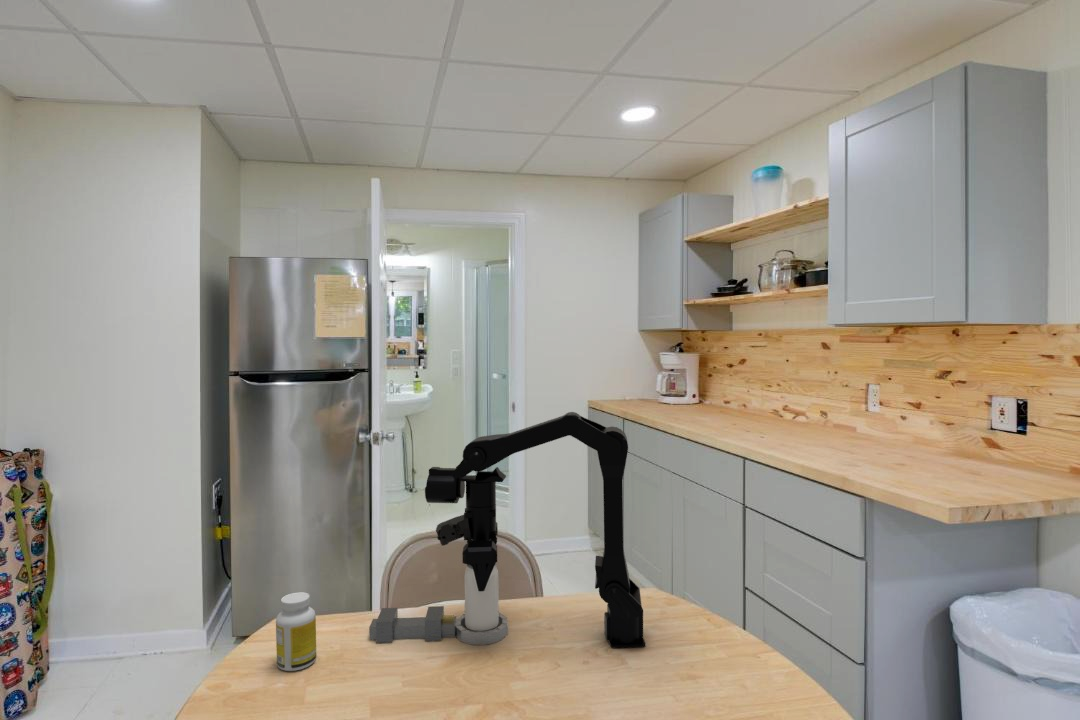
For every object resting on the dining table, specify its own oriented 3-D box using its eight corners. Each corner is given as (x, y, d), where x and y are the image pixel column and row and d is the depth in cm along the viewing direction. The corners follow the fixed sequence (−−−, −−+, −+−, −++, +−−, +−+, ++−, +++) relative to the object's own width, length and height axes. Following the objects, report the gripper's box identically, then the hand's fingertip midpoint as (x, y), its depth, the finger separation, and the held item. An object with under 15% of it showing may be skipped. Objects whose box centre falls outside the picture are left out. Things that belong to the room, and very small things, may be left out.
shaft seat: (507, 619, 123) (507, 599, 123) (508, 643, 113) (507, 622, 113) (376, 623, 121) (376, 604, 121) (365, 649, 111) (365, 627, 111)
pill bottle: (324, 658, 108) (323, 593, 108) (296, 676, 102) (294, 608, 102) (297, 650, 111) (296, 587, 111) (268, 667, 105) (267, 601, 105)
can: (501, 618, 121) (500, 558, 120) (495, 633, 114) (495, 570, 114) (469, 617, 121) (468, 557, 121) (461, 632, 115) (461, 569, 115)
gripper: (443, 492, 126) (444, 567, 126) (433, 518, 107) (434, 606, 108) (497, 491, 127) (497, 565, 127) (496, 517, 108) (497, 604, 108)
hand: (481, 583), depth 118 cm, fingers closed on can, 6 cm apart
